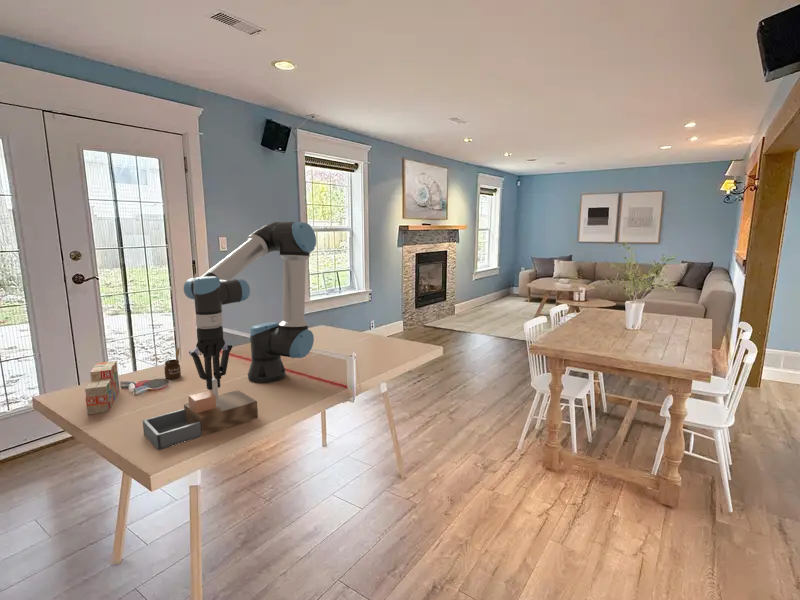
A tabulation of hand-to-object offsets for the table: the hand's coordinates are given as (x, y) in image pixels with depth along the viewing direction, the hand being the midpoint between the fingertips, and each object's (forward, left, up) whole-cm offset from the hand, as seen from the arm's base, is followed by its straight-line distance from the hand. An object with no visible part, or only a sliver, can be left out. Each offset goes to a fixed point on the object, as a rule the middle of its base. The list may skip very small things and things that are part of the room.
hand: (214, 398), depth 139 cm
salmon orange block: (+4, 0, -2) cm, 4 cm away
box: (+13, 0, -8) cm, 15 cm away
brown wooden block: (-2, 0, -8) cm, 8 cm away
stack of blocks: (+22, -45, -9) cm, 51 cm away
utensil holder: (-5, -56, -8) cm, 57 cm away
